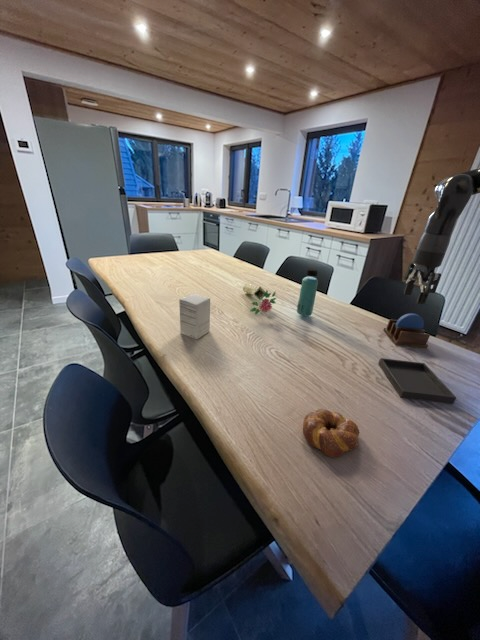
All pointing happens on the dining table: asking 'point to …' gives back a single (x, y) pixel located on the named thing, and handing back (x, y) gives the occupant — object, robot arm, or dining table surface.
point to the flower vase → (259, 294)
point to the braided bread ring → (330, 432)
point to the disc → (410, 321)
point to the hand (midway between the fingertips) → (413, 298)
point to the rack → (406, 335)
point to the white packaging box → (194, 315)
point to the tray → (415, 381)
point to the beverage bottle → (307, 293)
